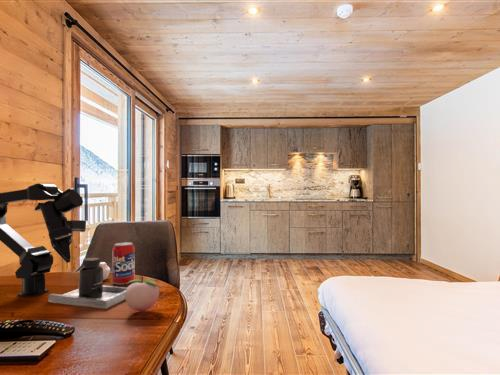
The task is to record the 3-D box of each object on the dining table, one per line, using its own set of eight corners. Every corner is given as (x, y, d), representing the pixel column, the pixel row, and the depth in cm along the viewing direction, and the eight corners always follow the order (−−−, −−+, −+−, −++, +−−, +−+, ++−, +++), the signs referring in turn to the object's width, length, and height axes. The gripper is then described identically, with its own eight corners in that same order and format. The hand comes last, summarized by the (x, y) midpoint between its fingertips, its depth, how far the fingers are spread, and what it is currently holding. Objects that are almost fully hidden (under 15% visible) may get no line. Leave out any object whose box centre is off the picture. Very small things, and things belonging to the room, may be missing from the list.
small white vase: (111, 280, 116) (111, 262, 116) (93, 282, 112) (93, 264, 113) (109, 276, 121) (109, 259, 121) (92, 278, 118) (92, 261, 118)
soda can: (127, 278, 117) (127, 241, 117) (138, 282, 112) (138, 243, 113) (108, 283, 111) (108, 244, 111) (119, 287, 106) (119, 245, 106)
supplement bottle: (99, 299, 92) (99, 260, 92) (75, 300, 90) (75, 261, 90) (105, 292, 98) (105, 256, 99) (83, 293, 97) (83, 257, 97)
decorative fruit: (118, 318, 78) (118, 281, 79) (131, 307, 87) (131, 273, 87) (153, 318, 78) (153, 281, 79) (162, 306, 87) (162, 273, 87)
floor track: (48, 302, 92) (48, 294, 92) (81, 289, 103) (81, 283, 104) (106, 308, 86) (106, 300, 86) (134, 294, 97) (134, 288, 98)
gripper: (81, 204, 97) (97, 248, 95) (79, 216, 112) (92, 255, 110) (41, 214, 90) (57, 261, 89) (45, 226, 105) (58, 267, 104)
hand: (68, 261), depth 98 cm, fingers open, 9 cm apart
